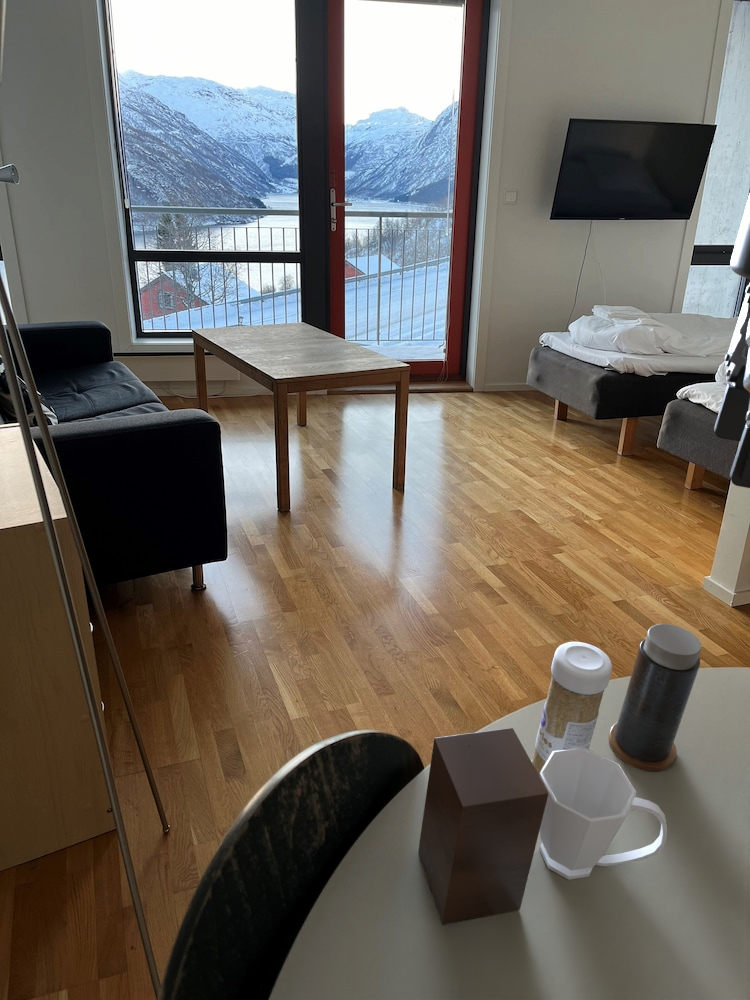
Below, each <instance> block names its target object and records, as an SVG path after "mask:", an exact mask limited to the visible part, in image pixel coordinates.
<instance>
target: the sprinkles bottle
mask: <svg viewBox="0 0 750 1000" xmlns="http://www.w3.org/2000/svg"><path fill="white" fill-rule="evenodd" d="M612 669H613V664H612V661H611V659H610V658H609V656H608V655H607V653H605V652H604V651H603V650H602V649H600V648H599V647H597V646H595V645H592V644H590V643H586V642H581V641H569V642H565V643H562V644H560V645H559V646H558V647H557V648H556V649H555V652H554V655H553V659H552V663H551V667H550V671H551V673H550V674H551V678H550V683H549V687H548V692H547V695H546V700H545V702H544V706H543V709H542V714H541V718H540V723H539V725H538V726H539V727H538V731H537V734H536V738H535V744H534V745H535V746H534V750H533V754H532V758H531V759H530V760H531V762H532V764H533V766H534V768H535V769H536V771H537V773H538V775H539V777H540V772H541V770H542V768H543V767H544V765H545V763H546V762H547V760H548V758H549V757H550V755H551V754H552V752H553V751H560V750H569V749H578V748H586V749H588V750H590V746H591V744H592V743H591V742H592V740H593V739H592V738H593V736H594V732H595V728H596V725H597V721H598V717H599V712H600V707H601V704H602V699H603V696H604V692H605V690H606V689H607V687H608V686H609V682H610V680H611V679H610V678H611V675H612Z"/></svg>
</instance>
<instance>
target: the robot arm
mask: <svg viewBox="0 0 750 1000" xmlns="http://www.w3.org/2000/svg"><path fill="white" fill-rule="evenodd" d="M733 247H734V248H733V250H732V254H731V258H730V263H729V265H730V269H731V270H732V271H733V273H734V274H736V275H738V276H740V277H743V278H746V279H748V280H750V193H749V194H748V198H747V201H746V205H745V208H744V212H743V215H742V219H741V221H740V226H739V229H738V233H737V237H736V240H735V244H734V246H733ZM724 364H725V365H724V366H725V367H728V368H727V369H726V370H725V374H724V376H725V382H726V383H727V382H728V383H727V384H726V388H725V390H724V395H723V398H722V401H721V404H720V407H719V411H718V415H717V417H716V420H715V424H714V427H713V431H714V434H715V436H716V437H717V438H719V439H724V440H727V441H728V440H729V441H736V442H739V444H738V447H737V450H736V453H735V456H734V460H733V462H732V466H731V468H730V472H729V477H730V481H731V483H732V484H733V485H734V486H736V487H740V488H746V489H750V283H749V284H748V285H747V286H746V288H745V296H744V299H743V302H742V306H741V308H740V312H739V316H738V319H737V321H736V325H735V329H734V331H733V335H732V337H731V341H730V345H729V348H728V351H727V353H726V354H725V356H724ZM730 383H731V384H730Z"/></svg>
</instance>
